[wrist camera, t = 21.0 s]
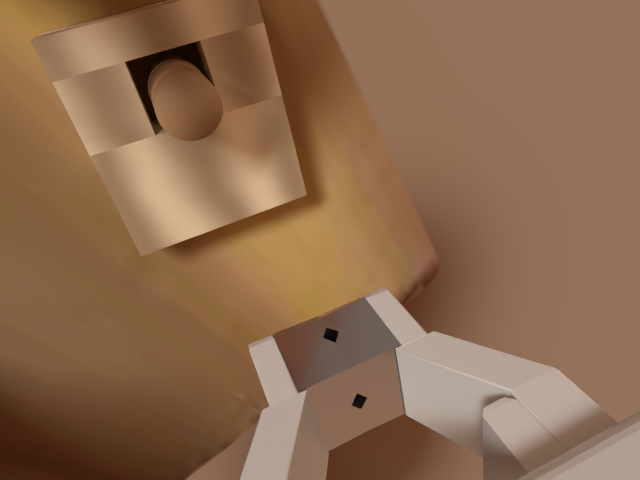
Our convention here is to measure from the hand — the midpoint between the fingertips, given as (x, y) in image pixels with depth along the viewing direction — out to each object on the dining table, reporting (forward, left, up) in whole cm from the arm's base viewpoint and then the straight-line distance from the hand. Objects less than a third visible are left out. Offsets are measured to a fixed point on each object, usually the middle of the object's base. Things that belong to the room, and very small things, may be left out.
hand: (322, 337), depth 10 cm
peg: (0, 0, -31) cm, 31 cm away
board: (0, -3, -31) cm, 31 cm away
